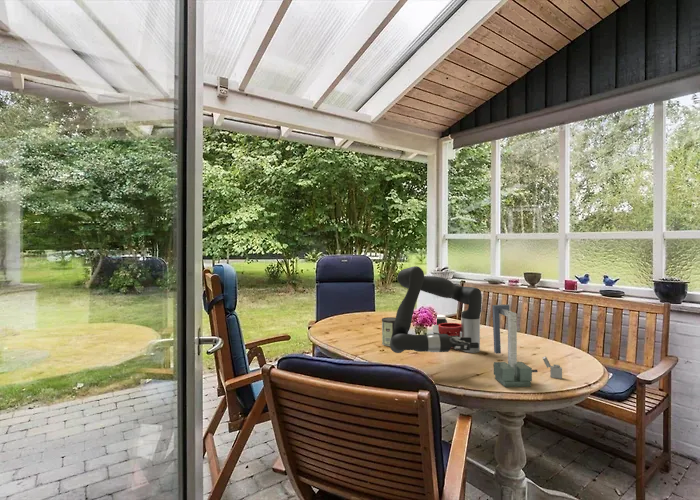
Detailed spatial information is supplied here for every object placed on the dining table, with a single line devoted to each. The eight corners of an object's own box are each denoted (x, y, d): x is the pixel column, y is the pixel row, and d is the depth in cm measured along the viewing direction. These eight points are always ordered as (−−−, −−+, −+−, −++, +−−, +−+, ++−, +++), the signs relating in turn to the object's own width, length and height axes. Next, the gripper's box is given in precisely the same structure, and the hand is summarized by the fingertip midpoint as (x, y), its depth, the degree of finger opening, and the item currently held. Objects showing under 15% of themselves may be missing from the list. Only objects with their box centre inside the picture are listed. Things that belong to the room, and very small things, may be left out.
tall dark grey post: (496, 353, 151) (494, 305, 151) (494, 352, 153) (492, 305, 153) (511, 352, 151) (509, 305, 151) (508, 351, 153) (506, 304, 153)
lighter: (562, 377, 147) (562, 358, 147) (561, 379, 146) (561, 359, 146) (542, 374, 151) (542, 355, 151) (542, 375, 150) (542, 356, 150)
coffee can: (399, 341, 205) (399, 317, 205) (401, 346, 194) (401, 320, 194) (381, 341, 205) (381, 317, 205) (382, 346, 195) (382, 320, 194)
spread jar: (437, 332, 227) (437, 313, 227) (454, 334, 220) (454, 316, 220) (429, 335, 218) (429, 316, 218) (446, 338, 211) (446, 319, 211)
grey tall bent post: (503, 387, 138) (503, 315, 137) (483, 370, 156) (483, 307, 156) (543, 386, 138) (543, 314, 138) (519, 370, 156) (519, 306, 156)
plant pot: (460, 343, 200) (460, 322, 200) (465, 349, 187) (465, 327, 187) (437, 343, 201) (436, 321, 201) (440, 349, 188) (440, 327, 188)
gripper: (441, 338, 144) (481, 338, 145) (432, 330, 159) (468, 329, 159) (441, 356, 144) (481, 356, 145) (432, 347, 159) (468, 346, 159)
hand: (474, 342), depth 152 cm, fingers open, 8 cm apart
